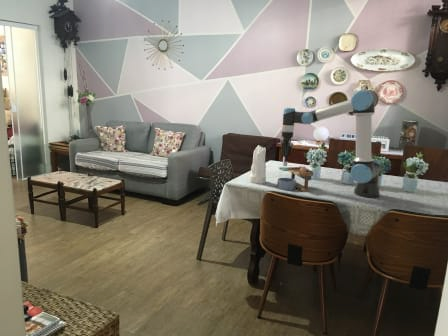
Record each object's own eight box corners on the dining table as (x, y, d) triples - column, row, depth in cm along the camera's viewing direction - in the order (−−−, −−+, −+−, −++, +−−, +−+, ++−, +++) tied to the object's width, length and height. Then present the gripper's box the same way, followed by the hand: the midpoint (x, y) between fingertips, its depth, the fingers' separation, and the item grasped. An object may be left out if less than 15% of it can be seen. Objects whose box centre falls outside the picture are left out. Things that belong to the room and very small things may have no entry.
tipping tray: (312, 180, 232) (313, 171, 231) (294, 181, 228) (295, 172, 227) (295, 172, 253) (296, 164, 252) (278, 173, 250) (279, 164, 248)
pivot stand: (310, 191, 231) (311, 176, 229) (302, 191, 229) (303, 176, 227) (295, 183, 250) (296, 169, 247) (287, 183, 248) (288, 169, 246)
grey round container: (298, 189, 233) (298, 181, 232) (282, 190, 230) (283, 182, 229) (290, 185, 244) (290, 177, 242) (275, 186, 240) (275, 178, 239)
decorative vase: (264, 184, 243) (267, 147, 238) (248, 182, 245) (251, 146, 240) (266, 180, 254) (268, 145, 249) (251, 179, 256) (253, 144, 251)
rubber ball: (307, 173, 234) (307, 167, 233) (301, 173, 233) (302, 167, 232) (304, 171, 238) (304, 165, 237) (298, 172, 237) (299, 166, 236)
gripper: (278, 130, 246) (275, 164, 251) (287, 132, 234) (284, 168, 239) (288, 130, 248) (285, 163, 253) (297, 132, 236) (294, 167, 241)
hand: (284, 165), depth 246 cm, fingers closed
